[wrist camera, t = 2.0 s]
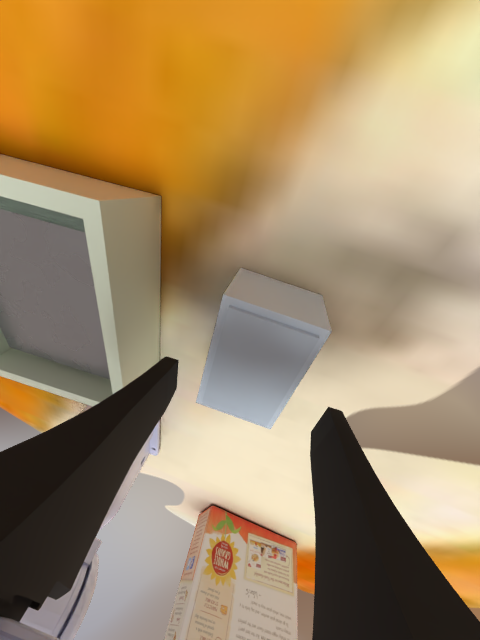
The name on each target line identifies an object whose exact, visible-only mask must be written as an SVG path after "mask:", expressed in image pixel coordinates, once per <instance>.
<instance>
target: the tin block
mask: <svg viewBox="0 0 480 640" xmlns="http://www.w3.org/2000/svg"><path fill="white" fill-rule="evenodd" d="M0 328H1V330H2V332H3V334H4V337H5V339H6V341H7V343H8V345H9V347H10V348H13V349H16V350H20V351H23V352H26V353H29V354H32V355H35V356H38V357H41V358H44V359H48V360H51V361H54V362H57V363H60V364H63V365H66V366H69V367H72V368H76V369H79V370H82V371H85V372H88V373H91V374H94V375H97V376H100V377H104V378H107V379H110V375H109V369H108V363H107V357H106V351H105V346H104V340H103V334H102V328H101V322H100V316H99V310H98V304H97V298H96V292H95V287H94V281H93V275H92V269H91V263H90V257H89V251H88V245H87V239H86V233H85V228H84V222H83V219H82V218H78V217H75V216H71V215H67V214H64V213H60V212H56V211H53V210H49V209H45V208H42V207H38V206H34V205H31V204H27V203H24V202H20V201H16V200H13V199H9V198H5V197H2V196H0Z"/></svg>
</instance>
